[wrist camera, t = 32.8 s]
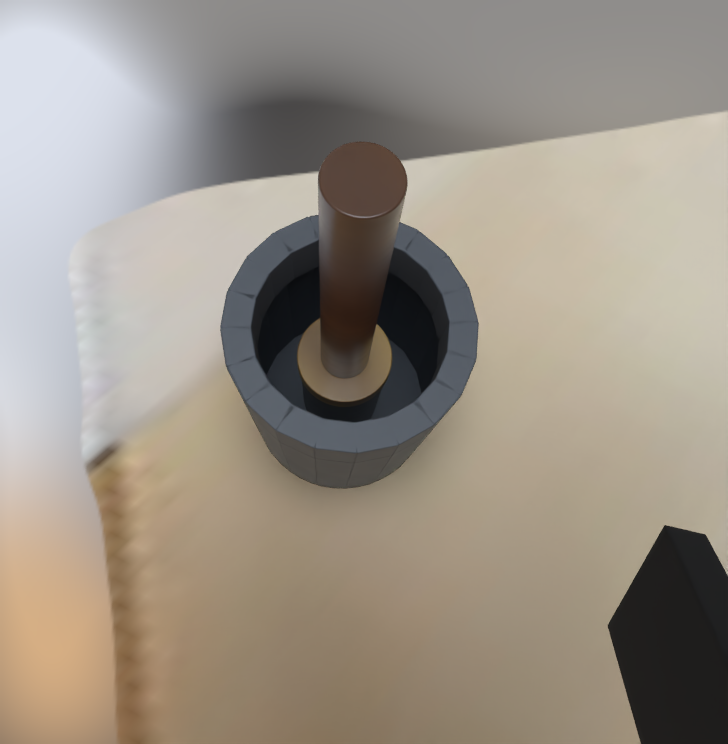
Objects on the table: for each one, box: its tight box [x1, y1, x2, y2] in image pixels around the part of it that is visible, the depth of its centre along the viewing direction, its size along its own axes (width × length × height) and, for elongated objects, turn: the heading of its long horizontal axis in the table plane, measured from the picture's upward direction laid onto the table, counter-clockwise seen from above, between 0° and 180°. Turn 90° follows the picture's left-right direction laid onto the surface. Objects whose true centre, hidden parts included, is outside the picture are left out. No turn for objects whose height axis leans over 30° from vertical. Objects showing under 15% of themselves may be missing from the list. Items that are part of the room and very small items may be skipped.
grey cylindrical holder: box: [220, 215, 479, 488], centre depth 31 cm, size 10×10×13 cm
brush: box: [297, 142, 407, 422], centre depth 26 cm, size 4×4×22 cm
